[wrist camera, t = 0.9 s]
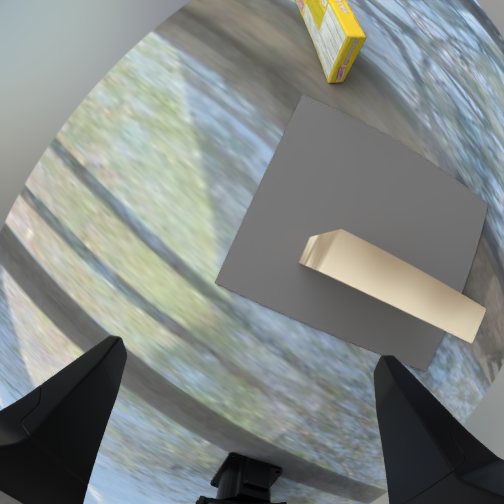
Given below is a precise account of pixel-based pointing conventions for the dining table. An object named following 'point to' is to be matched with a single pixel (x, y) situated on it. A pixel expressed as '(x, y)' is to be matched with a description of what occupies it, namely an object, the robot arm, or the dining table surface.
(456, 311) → the birch tile
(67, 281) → the dining table surface
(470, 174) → the dining table surface
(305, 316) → the mat
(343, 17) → the candy box
